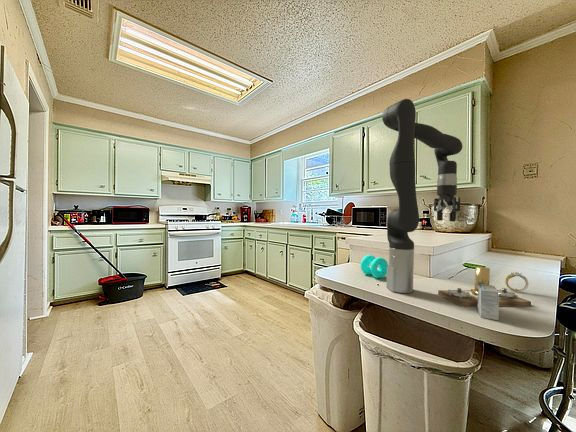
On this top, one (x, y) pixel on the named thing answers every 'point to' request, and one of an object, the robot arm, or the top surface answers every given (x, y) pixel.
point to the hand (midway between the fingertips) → (445, 220)
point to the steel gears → (462, 294)
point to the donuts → (374, 266)
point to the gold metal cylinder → (481, 278)
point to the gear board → (474, 300)
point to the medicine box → (488, 302)
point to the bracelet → (514, 276)
